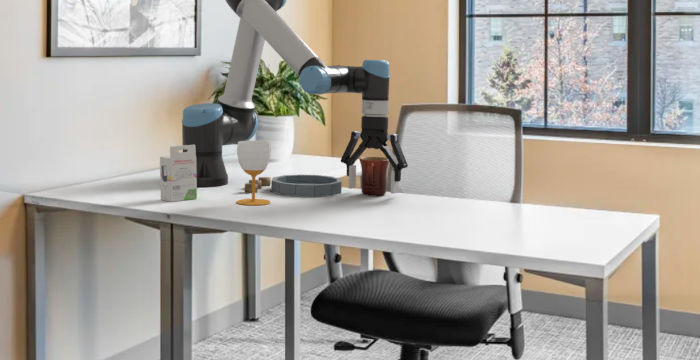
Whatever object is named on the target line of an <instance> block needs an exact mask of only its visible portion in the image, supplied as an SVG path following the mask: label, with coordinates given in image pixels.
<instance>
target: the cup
mask: <svg viewBox="0 0 700 360" xmlns="http://www.w3.org/2000/svg"><path fill="white" fill-rule="evenodd" d="M271 153H272V147H271V142H269V141H265V140H248V141H240V142H238V144H237V147H236V154H237V160H238V163H239V166H240V168H241V169H242V171H243V172H245V173H246V174H247V175H249V176H250V177H251V180H252V193H251V198H244V199H237V200H236V202H235V203H236V204H237V205H241V206H255V207H257V206H258V207H259V206H266V205H269V204H271V201H270V200H269V199H262V198H256V193H255V180H256V177H257V176H259V175H260V174H262V173H264V171H266V169H267V168H268V165H269V164H270V160H271Z"/></svg>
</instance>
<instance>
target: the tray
mask: <svg viewBox="0 0 700 360" xmlns="http://www.w3.org/2000/svg"><path fill="white" fill-rule="evenodd" d="M342 183H343V179H342V178H339V177H335V176H330V175H322V174H321V175H320V174H287V175H285V174H284V175H278V176H273V177H272V179H271V186H270V187H271V190H270V191H271V192H273V193H276V194H278V195H285V196H292V197H311V198H312V197H313V198H314V197H315V196H316V197H326V196H327V195H330V196H335V195H339V194H342V191H343V190H342V188H343V186H342ZM338 193H339V194H338ZM334 194H335V195H334ZM327 197H328V196H327Z"/></svg>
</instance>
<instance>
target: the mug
mask: <svg viewBox="0 0 700 360" xmlns="http://www.w3.org/2000/svg"><path fill="white" fill-rule="evenodd" d="M358 159H359V163H360V168H361V175H360V177H361V179H360V189H361V193H362V195H363V196H370V197H380V196H381V197H382V196H384V195H385V194H387V189H388V169H389V164H390V162H389V160H388V159H387V157H385V156H384V157H382V156H363V157H361V156H360V157H359V158H358Z"/></svg>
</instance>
